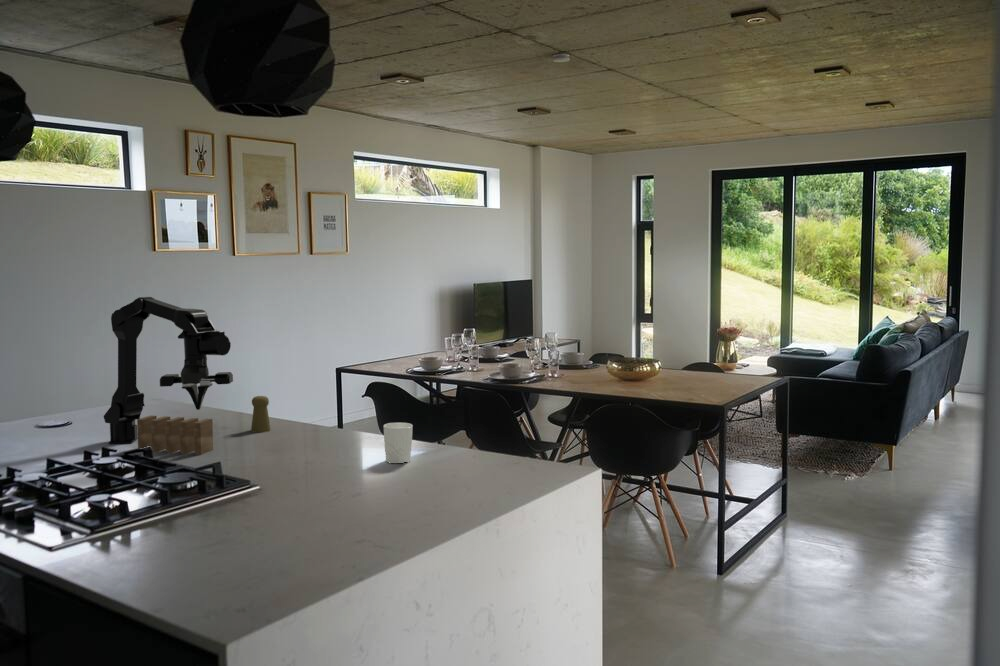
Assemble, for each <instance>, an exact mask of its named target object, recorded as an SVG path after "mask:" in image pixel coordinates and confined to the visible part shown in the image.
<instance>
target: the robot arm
mask: <svg viewBox="0 0 1000 666" xmlns="http://www.w3.org/2000/svg"><path fill="white" fill-rule="evenodd" d="M150 315H153V316H156V317H158V318H162V319H165V320H167V321H170V322H172V323H173V324H174V325H175V327H177V328H178V329H180V330H182V332H181V333H180V334H178V335H177V339H178V340H179V339H180V340H181V339H182V340H183V345H184V346H183V347H184V350H183V351H184V363H183V364H184V365H183V368H182V369H181V371H180V374H178V373H173V374H172V373H170V374H169V373H167V374H164V375H161V377H160V378H159V387H162V388H163V387H172V386H173V385H174V384H182V386H181V389H183V390H184V389H185V390H186V391H187V393H188V394H189V396H190V398H191V400H192V402H193V405H194V407H195V409H196V410H197V411H198V410H201V408H202V405H203V402H204V398H205V396H206V393H207V392H208V389H209V388H210V387H212V386H213V383H215V384H217V385H230V384H231V383H233V382H234V374H233V373H232V372H231V371H224V372H222V371H219V372H216V373H215V374H214V375H213V374H211V375H209V372H210V371H209V368H208V363H207V362H208V357H207V356H226V355H228V354H229V352H230V351H231V346H232V345H231V341H230V339H229V336H227V335H225V333H226V332H225V330H218V329H216V327H215V326H214V324H213V322H212V321H211V320H210V319H211V318H210V317H209V316H208V313H207V312H206V310H204V309H200V308H199V309H198V308H183V307H180V306H177V305H173V304H171V303H167V302H165V301H162V300H158V299H155V298H154V297H152V296H142V297H137V298H135V299H134V300H133V301H132V302H130V303H128V304H126V305H124V306H121V307H120V308H118V309H116V310H114V311H113V312H112V313H111V316H110V322H111V331H112V332H113V334H114V335H115V337H116V338H117V388H116V390H115V391H114V393H113V394H112V397H111V403H110V407H109V408H108V409H107V411H106V412H105V413H104V415H103V419H104V423H105V424H109V430H110V431H109V435H110V436H109V437H110V439H109V441H108V444H132V443H134V442H135V441H137V440H138V428H137V424H136V421H137V419H140V418H141V414H142V411H143V409H144V407H145V401H144V399H145V394H144V392H141V391H140V390H139V388H138V387H137V358H138V357H137V356H138V355H137V354H138V353H137V352H138V351H137V350H138V348H137V347H138V346H137V345H138V343H137V342H138V341H137V340H138V338H139V336H140V335H141V332H142V331H143V329H144V328H143V327H144V322H145V321H146V320H147V319H148V318H149V317H150ZM198 384H199V385H198Z"/></svg>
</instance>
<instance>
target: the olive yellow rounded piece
mask: <svg viewBox="0 0 1000 666" xmlns="http://www.w3.org/2000/svg"><path fill="white" fill-rule="evenodd" d="M269 400H270V399H269V398H268V397H267V396H266V395H257V396H254V397H253V398H252V399H251V404H252V406H253V410H252V420H251V427H250V432H252V433H266V432H270V431H271V424H270V416H269V409H268V406H269V405H270V404H269V403H270V401H269Z"/></svg>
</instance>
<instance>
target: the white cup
mask: <svg viewBox="0 0 1000 666" xmlns="http://www.w3.org/2000/svg"><path fill="white" fill-rule="evenodd" d="M413 426H414V425H413V424H412V423H409V422H388V423H385V424H383V441H384V452H385V462H386V461H387V462H390V463H389V464H391V463H402V462H408V461H410V462H411V455H412V454H411V453H412V446H413V444H412V443H413ZM387 462H386V463H387ZM408 463H409V462H408Z"/></svg>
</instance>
